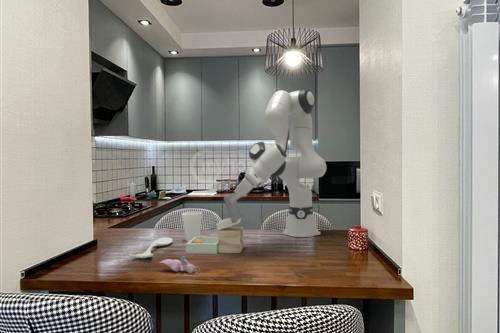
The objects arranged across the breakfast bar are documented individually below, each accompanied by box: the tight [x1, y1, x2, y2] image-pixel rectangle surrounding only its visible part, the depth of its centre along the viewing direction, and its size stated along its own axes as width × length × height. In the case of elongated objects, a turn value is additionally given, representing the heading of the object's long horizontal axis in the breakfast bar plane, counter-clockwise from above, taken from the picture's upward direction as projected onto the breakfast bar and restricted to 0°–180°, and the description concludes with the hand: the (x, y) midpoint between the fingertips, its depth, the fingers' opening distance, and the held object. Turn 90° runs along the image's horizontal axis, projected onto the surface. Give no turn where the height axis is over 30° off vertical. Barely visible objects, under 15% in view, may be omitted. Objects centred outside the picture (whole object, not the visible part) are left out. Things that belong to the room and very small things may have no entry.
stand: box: [217, 226, 244, 254], centre depth 146 cm, size 9×9×9 cm
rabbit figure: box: [158, 255, 201, 275], centre depth 120 cm, size 6×6×15 cm
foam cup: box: [181, 211, 203, 242], centre depth 166 cm, size 10×9×13 cm
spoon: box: [128, 236, 174, 259], centre depth 148 cm, size 9×32×4 cm, turn 176°
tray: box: [185, 236, 218, 255], centre depth 148 cm, size 13×13×4 cm
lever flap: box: [215, 192, 242, 231], centre depth 146 cm, size 9×14×12 cm, turn 171°
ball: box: [193, 239, 203, 243], centre depth 148 cm, size 4×4×4 cm
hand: (233, 200), depth 145 cm, fingers open, 8 cm apart
